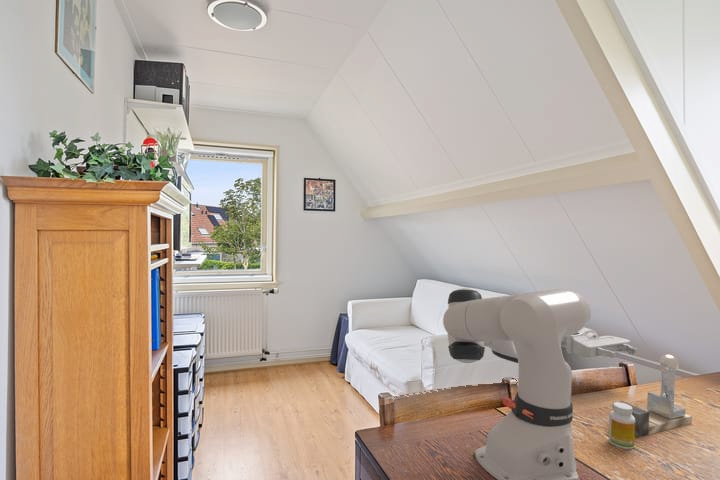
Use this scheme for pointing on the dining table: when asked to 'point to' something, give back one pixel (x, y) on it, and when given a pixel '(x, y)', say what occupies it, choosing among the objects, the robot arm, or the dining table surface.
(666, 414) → the press slide
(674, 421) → the press base
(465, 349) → the robot arm
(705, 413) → the dining table surface
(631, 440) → the supplement bottle
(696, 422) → the dining table surface
